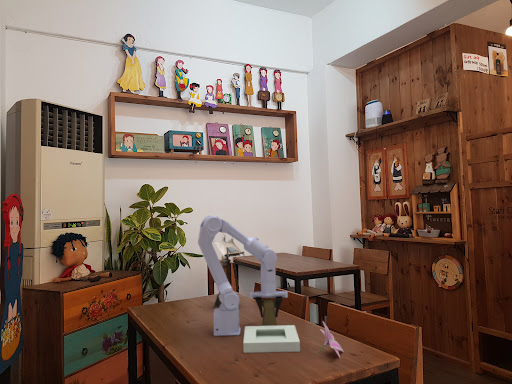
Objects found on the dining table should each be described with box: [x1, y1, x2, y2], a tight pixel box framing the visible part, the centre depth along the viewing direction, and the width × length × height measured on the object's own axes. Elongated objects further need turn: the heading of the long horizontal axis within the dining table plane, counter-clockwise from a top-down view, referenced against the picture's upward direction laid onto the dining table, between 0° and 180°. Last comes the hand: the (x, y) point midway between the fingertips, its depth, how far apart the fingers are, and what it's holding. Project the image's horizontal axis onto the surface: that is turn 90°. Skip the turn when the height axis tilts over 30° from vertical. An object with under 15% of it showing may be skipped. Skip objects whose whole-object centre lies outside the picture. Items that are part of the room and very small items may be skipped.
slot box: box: [242, 324, 301, 354], centre depth 131 cm, size 18×18×3 cm
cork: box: [261, 298, 278, 326], centre depth 147 cm, size 6×6×11 cm
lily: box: [317, 321, 344, 359], centre depth 119 cm, size 11×11×9 cm
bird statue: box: [212, 233, 245, 310], centre depth 179 cm, size 17×13×35 cm
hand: (269, 316), depth 147 cm, fingers closed on cork, 5 cm apart
